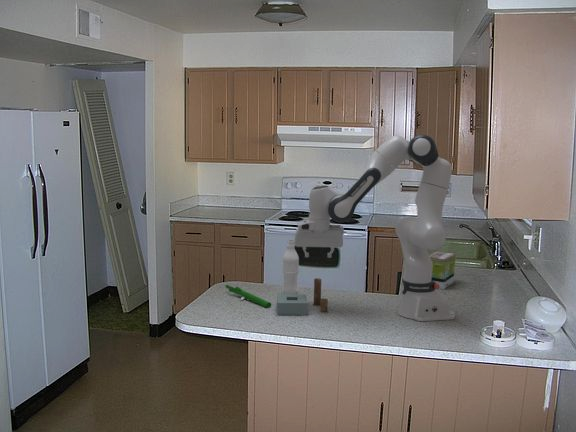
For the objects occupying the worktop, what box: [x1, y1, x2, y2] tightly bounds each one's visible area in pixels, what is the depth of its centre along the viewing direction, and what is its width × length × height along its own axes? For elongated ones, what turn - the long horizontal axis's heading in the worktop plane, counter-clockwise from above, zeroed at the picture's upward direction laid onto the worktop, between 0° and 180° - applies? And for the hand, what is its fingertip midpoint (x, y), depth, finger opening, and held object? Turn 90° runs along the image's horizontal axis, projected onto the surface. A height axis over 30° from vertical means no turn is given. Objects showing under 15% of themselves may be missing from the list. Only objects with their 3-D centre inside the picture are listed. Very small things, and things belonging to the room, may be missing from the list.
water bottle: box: [281, 239, 300, 294], centre depth 265 cm, size 7×7×25 cm
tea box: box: [428, 250, 456, 290], centre depth 288 cm, size 15×10×15 cm, turn 148°
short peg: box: [319, 297, 329, 313], centre depth 247 cm, size 3×3×5 cm
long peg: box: [313, 277, 322, 307], centre depth 255 cm, size 3×3×11 cm
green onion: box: [225, 284, 272, 309], centre depth 261 cm, size 5×3×30 cm
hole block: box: [276, 293, 309, 316], centre depth 247 cm, size 12×12×5 cm
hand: (318, 257), depth 253 cm, fingers open, 8 cm apart
